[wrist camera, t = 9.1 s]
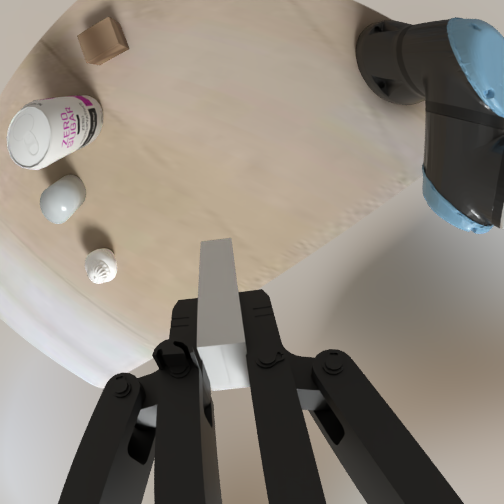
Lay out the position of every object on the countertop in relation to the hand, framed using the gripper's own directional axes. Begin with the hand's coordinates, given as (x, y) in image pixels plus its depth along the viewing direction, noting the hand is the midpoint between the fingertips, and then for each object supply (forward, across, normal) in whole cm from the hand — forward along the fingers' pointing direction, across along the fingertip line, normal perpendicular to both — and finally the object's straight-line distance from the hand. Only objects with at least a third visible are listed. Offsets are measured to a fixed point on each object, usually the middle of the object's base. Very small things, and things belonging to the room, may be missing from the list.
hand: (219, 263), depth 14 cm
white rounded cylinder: (+30, +25, +2) cm, 39 cm away
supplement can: (+30, +20, -9) cm, 37 cm away
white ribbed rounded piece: (+30, +22, +15) cm, 40 cm away
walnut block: (+30, +14, -20) cm, 38 cm away
